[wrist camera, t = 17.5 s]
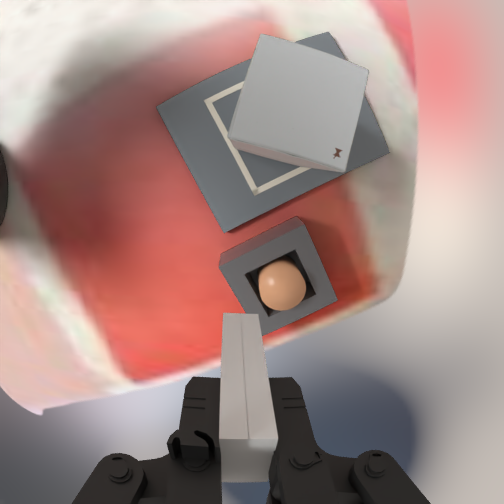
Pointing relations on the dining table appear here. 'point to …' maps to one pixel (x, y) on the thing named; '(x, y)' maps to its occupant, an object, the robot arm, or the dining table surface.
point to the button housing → (265, 250)
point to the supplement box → (298, 105)
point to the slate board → (243, 163)
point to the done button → (281, 283)
